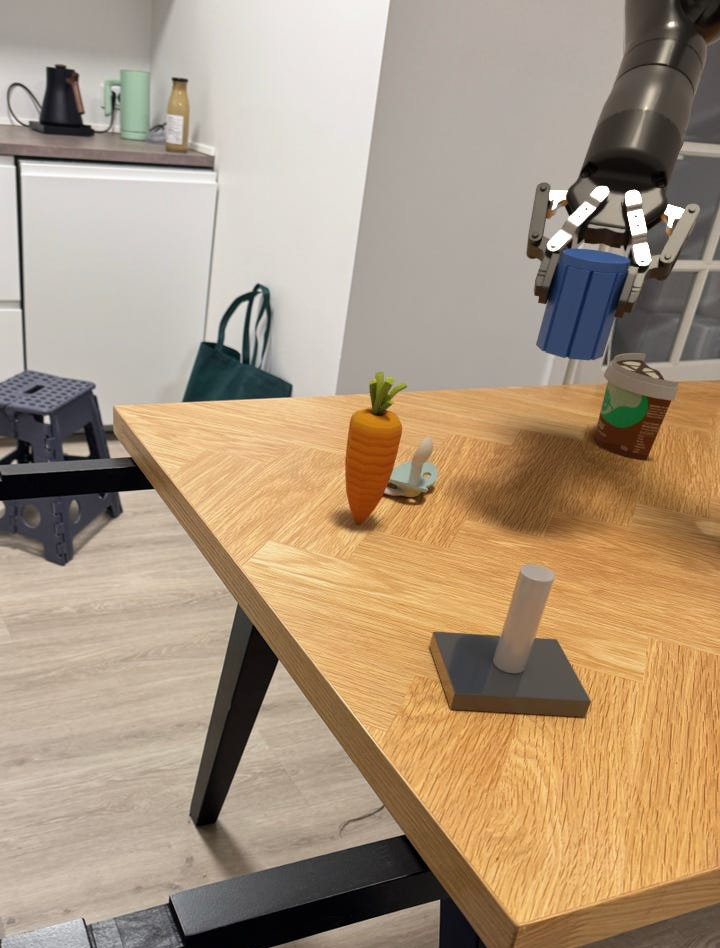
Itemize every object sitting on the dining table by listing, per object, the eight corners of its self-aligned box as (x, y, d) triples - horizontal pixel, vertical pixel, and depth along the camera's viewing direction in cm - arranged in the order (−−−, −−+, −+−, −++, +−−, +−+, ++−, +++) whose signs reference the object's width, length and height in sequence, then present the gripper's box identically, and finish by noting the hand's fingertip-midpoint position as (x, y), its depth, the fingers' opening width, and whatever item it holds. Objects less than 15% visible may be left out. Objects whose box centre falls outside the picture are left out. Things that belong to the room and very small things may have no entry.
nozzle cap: (588, 343, 82) (615, 251, 78) (610, 362, 78) (641, 265, 73) (529, 339, 82) (553, 246, 78) (548, 357, 77) (575, 259, 73)
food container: (573, 423, 118) (596, 347, 112) (618, 428, 118) (644, 352, 113) (600, 459, 108) (627, 378, 102) (650, 464, 108) (680, 383, 102)
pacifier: (365, 495, 94) (419, 508, 92) (373, 438, 90) (430, 451, 88) (387, 472, 99) (439, 484, 97) (396, 418, 96) (450, 429, 94)
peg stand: (551, 654, 71) (588, 549, 66) (585, 717, 64) (628, 607, 59) (429, 646, 70) (455, 540, 65) (450, 709, 64) (481, 597, 59)
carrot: (341, 508, 90) (365, 360, 82) (388, 519, 89) (418, 371, 81) (327, 527, 86) (351, 374, 78) (376, 540, 85) (406, 385, 77)
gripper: (558, 96, 77) (499, 263, 75) (736, 116, 73) (679, 294, 70) (550, 161, 84) (495, 315, 82) (711, 182, 80) (659, 346, 78)
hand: (581, 304), depth 76 cm, fingers closed on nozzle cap, 6 cm apart
